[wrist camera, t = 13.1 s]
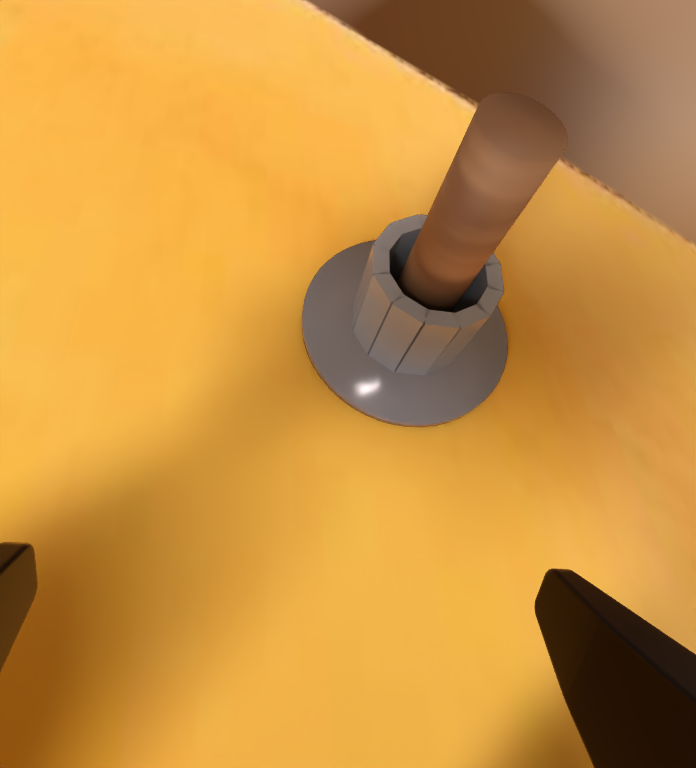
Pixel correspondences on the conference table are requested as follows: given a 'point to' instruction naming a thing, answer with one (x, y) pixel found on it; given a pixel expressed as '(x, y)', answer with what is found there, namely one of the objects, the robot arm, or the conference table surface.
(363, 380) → the grey flared collar base
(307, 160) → the conference table surface
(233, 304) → the conference table surface
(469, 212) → the brown wooden dowel
